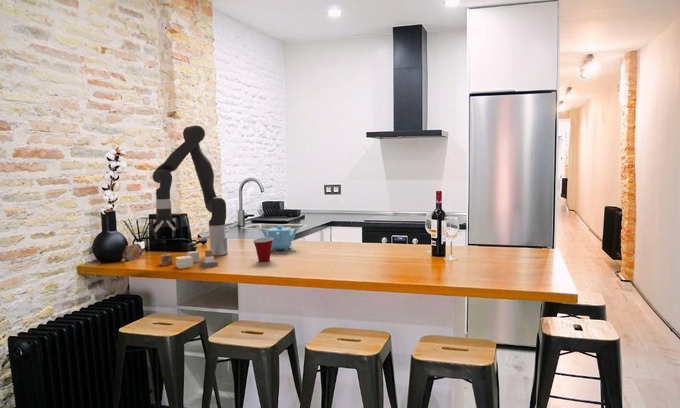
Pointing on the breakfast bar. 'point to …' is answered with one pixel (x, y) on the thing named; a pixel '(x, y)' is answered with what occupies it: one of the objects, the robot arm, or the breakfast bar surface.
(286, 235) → the teakettle
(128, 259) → the stone slab
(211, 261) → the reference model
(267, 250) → the plastic cup
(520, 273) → the breakfast bar surface
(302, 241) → the breakfast bar surface
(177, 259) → the base block
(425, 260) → the breakfast bar surface
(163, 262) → the walnut cube
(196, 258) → the grey cube
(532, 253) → the breakfast bar surface
